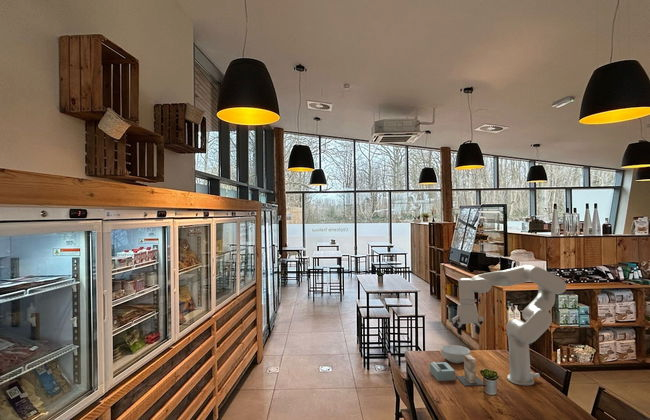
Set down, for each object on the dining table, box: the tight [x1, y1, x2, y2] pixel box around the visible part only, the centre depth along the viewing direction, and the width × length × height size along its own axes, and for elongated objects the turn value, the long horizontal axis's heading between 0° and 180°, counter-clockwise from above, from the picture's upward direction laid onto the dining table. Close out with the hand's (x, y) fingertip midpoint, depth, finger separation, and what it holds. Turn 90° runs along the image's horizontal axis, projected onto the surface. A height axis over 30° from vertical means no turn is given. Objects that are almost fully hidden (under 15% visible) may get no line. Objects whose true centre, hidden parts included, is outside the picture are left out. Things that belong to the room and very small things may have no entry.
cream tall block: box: [463, 354, 477, 383], centre depth 186 cm, size 3×6×12 cm, turn 3°
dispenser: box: [429, 361, 456, 382], centre depth 194 cm, size 9×12×6 cm
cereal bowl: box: [440, 344, 471, 364], centre depth 214 cm, size 17×17×7 cm
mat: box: [455, 375, 484, 387], centre depth 186 cm, size 11×11×1 cm
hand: (468, 334), depth 188 cm, fingers open, 9 cm apart
